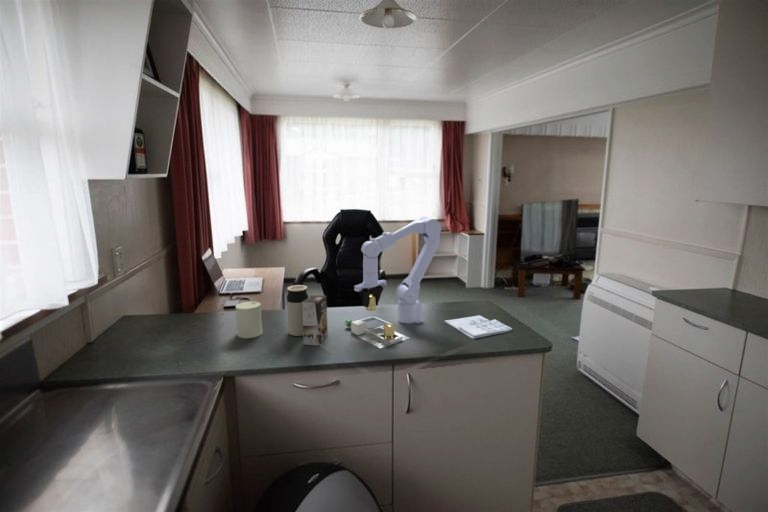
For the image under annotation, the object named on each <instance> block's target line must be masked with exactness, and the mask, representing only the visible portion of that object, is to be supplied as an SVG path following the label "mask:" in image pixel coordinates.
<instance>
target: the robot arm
mask: <svg viewBox="0 0 768 512" xmlns="http://www.w3.org/2000/svg"><path fill="white" fill-rule="evenodd" d="M441 231H442V227H441V225H440V222H439V221H438V220H437V219H435V218H429V217H426V216H422V217H420V218H417V219H415V220H413V221H411V222H410V223H409V224H406V225H405V226H403V227H401V228H399V229H397V230H395V231H394V232H390V231H388V232H386V231H383V232H382V233H381V235H379V236H377V237H373V238H371V240H370V241H369V240H367V241H365V242H364V243H363V244H362V245H361V248H360V251H361V253H362V254H363V257H362V258H363V259H362V269H363V270H362V273H363V275H362V276H363V277H362V279H363V281H362V283H359V284H356V285H353V287H354V289H353V290H354V291H355V292H356V293H357V292H358V293H359V295H360V297H361V300H362V304H363V306H364V308H366V307H369V296H370V294H372V295H376V306H378V304H379V302H380V297H381V295H382V292H384V287H383V286H387V280H386V279H380V280H379V261H378V259H379V258H378V256H379V255H380V253H382V252H384V251H386V250H388V249H390V248H392V247H394V246H395V245H396V243H397V241H400V240H401V239H403V238H405V237H408V236H410V235H412V234H415V233H416V234H421V235H422V237H423V239H424V240H423V241H424V242H425V243H424V245H423V247H422V248H421V250H420V253H419V254H418V257H417V258H416V261H415V262H414V265H413V266H412V268H411V270H410V272H409V274H408V276H407V277H406V278H404V279H403V280H402V282H401V283H400V284H399V285H397V288H396V292H395V293H396V295H397V296H398V300H397V302H398V303H397V321H398V322H399V323H402V324H412V323H417V324H420V323H423V320H422V304H421V301H419V300H418V299H419V293H420V290H421V284H420V283H421V281H422V279H423V278H424V275H425V274H426V271H427V269H428V268H429V266H430V264H431V262H432V259H433V258H434V256H435V255H436V253H437V250H438V248H439V247H440V244H441ZM368 289H370V290H371V291H370V290H368ZM371 292H372V293H371Z"/></svg>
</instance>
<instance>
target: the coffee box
mask: <svg viewBox="0 0 768 512" xmlns="http://www.w3.org/2000/svg"><path fill="white" fill-rule="evenodd" d="M327 298H328V296H327V295H312V294H310V295H308V298H307V299H305V300H304V301H303V302H302V309H303V335H302V336H303V345H305V346H306V345H308V346H317V347H320V346H321V345H322V344H323V343H322V341H324V339H325V338H326V337H327V336H328V334H329V333H328V332H329V329H328V328H329V327H328V326H329V325H328V300H327Z"/></svg>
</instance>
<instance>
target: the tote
mask: <svg viewBox="0 0 768 512" xmlns="http://www.w3.org/2000/svg"><path fill="white" fill-rule="evenodd" d="M360 320H362V321H364V322H366V323H368V322H371V321H374V320H377V321H379V322H381V323H384V324H393V323H391V322H389V321H387V320H384V319H382V318H380V317H377V316H375V315H371V316H369V317H365V318H362V319H360ZM384 324H383V325H380V326H379V327H382V328H384ZM374 328H375V327H374ZM374 328H372V329H374ZM367 330H369V329H367V328H366V331H367Z"/></svg>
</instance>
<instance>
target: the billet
mask: <svg viewBox="0 0 768 512" xmlns="http://www.w3.org/2000/svg"><path fill="white" fill-rule="evenodd" d="M365 310H366V311H369V312H372V311H376V310H377V305H376V295H372V293H370V296H369V307H365Z"/></svg>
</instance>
